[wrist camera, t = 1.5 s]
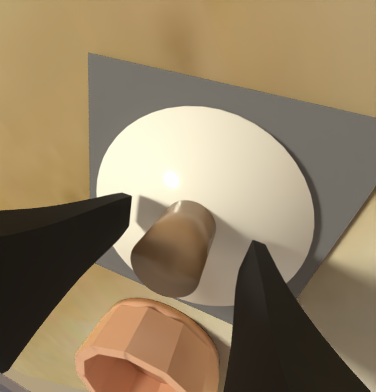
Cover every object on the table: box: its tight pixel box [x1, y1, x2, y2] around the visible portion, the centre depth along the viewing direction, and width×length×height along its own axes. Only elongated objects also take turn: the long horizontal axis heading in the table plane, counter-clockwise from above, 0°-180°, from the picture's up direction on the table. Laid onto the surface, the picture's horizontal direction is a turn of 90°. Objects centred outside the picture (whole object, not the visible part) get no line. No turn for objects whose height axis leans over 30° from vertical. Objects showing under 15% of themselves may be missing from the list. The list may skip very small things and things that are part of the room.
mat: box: [88, 53, 376, 325], centre depth 12 cm, size 14×14×1 cm
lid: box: [96, 106, 314, 306], centre depth 10 cm, size 12×12×4 cm
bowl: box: [75, 298, 220, 392], centre depth 17 cm, size 11×11×4 cm
